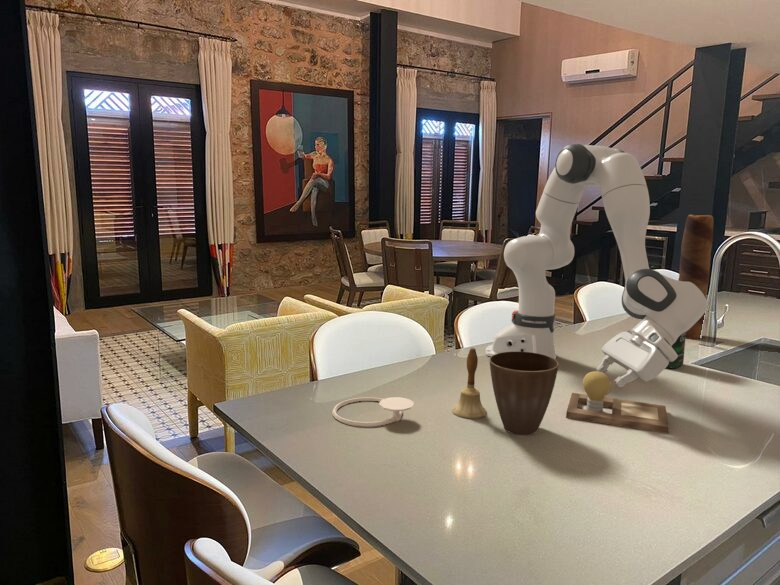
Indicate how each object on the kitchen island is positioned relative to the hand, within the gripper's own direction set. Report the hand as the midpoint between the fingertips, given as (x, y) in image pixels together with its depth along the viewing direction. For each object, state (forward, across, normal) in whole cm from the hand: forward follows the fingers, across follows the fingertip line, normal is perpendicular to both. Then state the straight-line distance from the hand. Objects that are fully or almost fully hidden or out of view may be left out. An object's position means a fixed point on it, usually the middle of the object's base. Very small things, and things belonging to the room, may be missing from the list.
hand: (607, 378), depth 140 cm
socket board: (+5, +2, +7) cm, 9 cm away
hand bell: (+30, -1, -18) cm, 35 cm away
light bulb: (+8, 0, +4) cm, 9 cm away
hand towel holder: (+46, -1, -34) cm, 57 cm away
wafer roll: (-40, -70, +52) cm, 96 cm away
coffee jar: (-20, -36, +32) cm, 52 cm away
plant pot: (+23, +9, -11) cm, 27 cm away
